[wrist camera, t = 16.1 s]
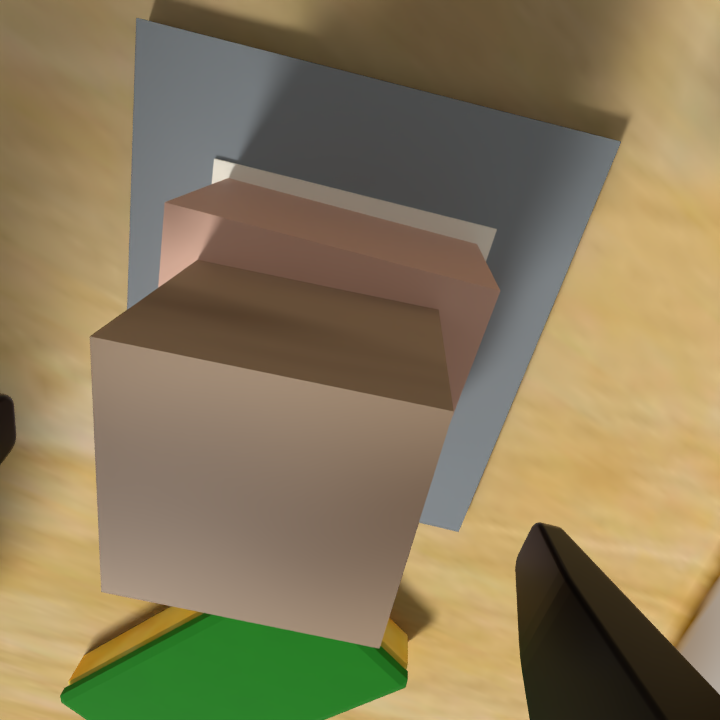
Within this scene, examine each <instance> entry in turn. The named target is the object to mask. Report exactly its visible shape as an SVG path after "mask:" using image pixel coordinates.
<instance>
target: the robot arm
mask: <svg viewBox="0 0 720 720" xmlns="http://www.w3.org/2000/svg"><path fill="white" fill-rule="evenodd" d="M15 440H16V426H15V413H14V403H13V400H12V398H11V397H9V396H8V395H5V394H1V393H0V465H1V463H2V462H3V461H4V459H5V458H6V457H7V455H8V454H9V453H10V451H11V450H12V448H13V446H14V444H15ZM515 572H516V592H517V611H518V631H519V648H520V659H521V667H522V674H523V680H524V686H525V693H526V699H527V705H528V711H529V718H530V720H720V695H719V694H718V693H717V691H716V690H715V689H714V688H713V687H712V686H711V685H710V684H709V683H708V682H707V681H706V680H705V679H704V678H703V677H702V676H701V675H700V674H699V672H698V671H697V670H696V669H695V668H694V667H693V666H692V665H691V664H690V663H689V662H688V661H687V660H686V659H685V658H684V657H683V656H682V655H681V654H680V652H679V651H678V650H677V649H676V648H675V647H674V646H673V645H672V644H671V643H670V642H669V641H668V640H667V639H666V638H665V637H664V636H663V635H662V634H661V632H660V631H659V630H658V629H657V628H656V627H655V626H654V625H653V624H652V623H651V622H650V621H649V620H648V619H647V618H646V617H645V616H644V615H643V614H642V612H641V611H640V610H639V609H638V608H637V607H636V606H635V605H634V604H633V603H632V602H631V601H630V600H629V599H628V598H627V597H626V596H625V595H624V594H623V592H622V591H621V590H620V589H619V588H618V587H617V586H616V585H615V584H614V583H613V582H612V581H611V580H610V579H609V578H608V577H607V576H606V575H605V574H604V572H603V571H602V570H601V569H600V568H599V567H598V566H597V565H596V564H595V563H594V562H593V561H592V560H591V559H590V558H589V557H588V556H587V555H586V554H585V552H584V551H583V550H582V549H581V548H580V547H579V546H578V545H577V544H576V543H575V542H574V541H573V540H572V539H571V538H570V537H569V536H568V535H567V534H566V532H565V531H564V530H562V529H561V528H560V527H557V526H553V525H549V524H545V523H540V522H539V523H536V524H534V525H533V527H532V528H531V530H530V532H529V534H528V536H527V538H526V540H525V542H524V544H523V546H522V548H521V550H520V552H519V554H518V557H517V560H516V567H515Z"/></svg>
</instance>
